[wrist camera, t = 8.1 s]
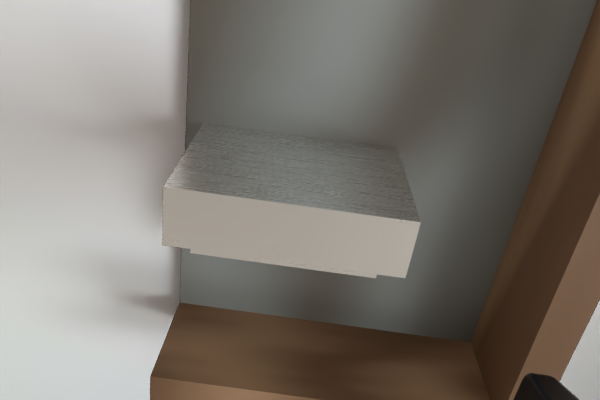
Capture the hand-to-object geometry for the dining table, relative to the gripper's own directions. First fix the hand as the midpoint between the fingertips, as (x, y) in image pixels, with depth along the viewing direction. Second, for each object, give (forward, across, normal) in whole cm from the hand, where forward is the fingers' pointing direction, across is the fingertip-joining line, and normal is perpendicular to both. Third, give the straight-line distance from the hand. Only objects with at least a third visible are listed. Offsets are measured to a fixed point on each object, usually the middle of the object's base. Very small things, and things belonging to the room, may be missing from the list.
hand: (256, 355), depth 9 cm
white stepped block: (+9, 0, +1) cm, 9 cm away
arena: (+9, -3, +1) cm, 10 cm away
